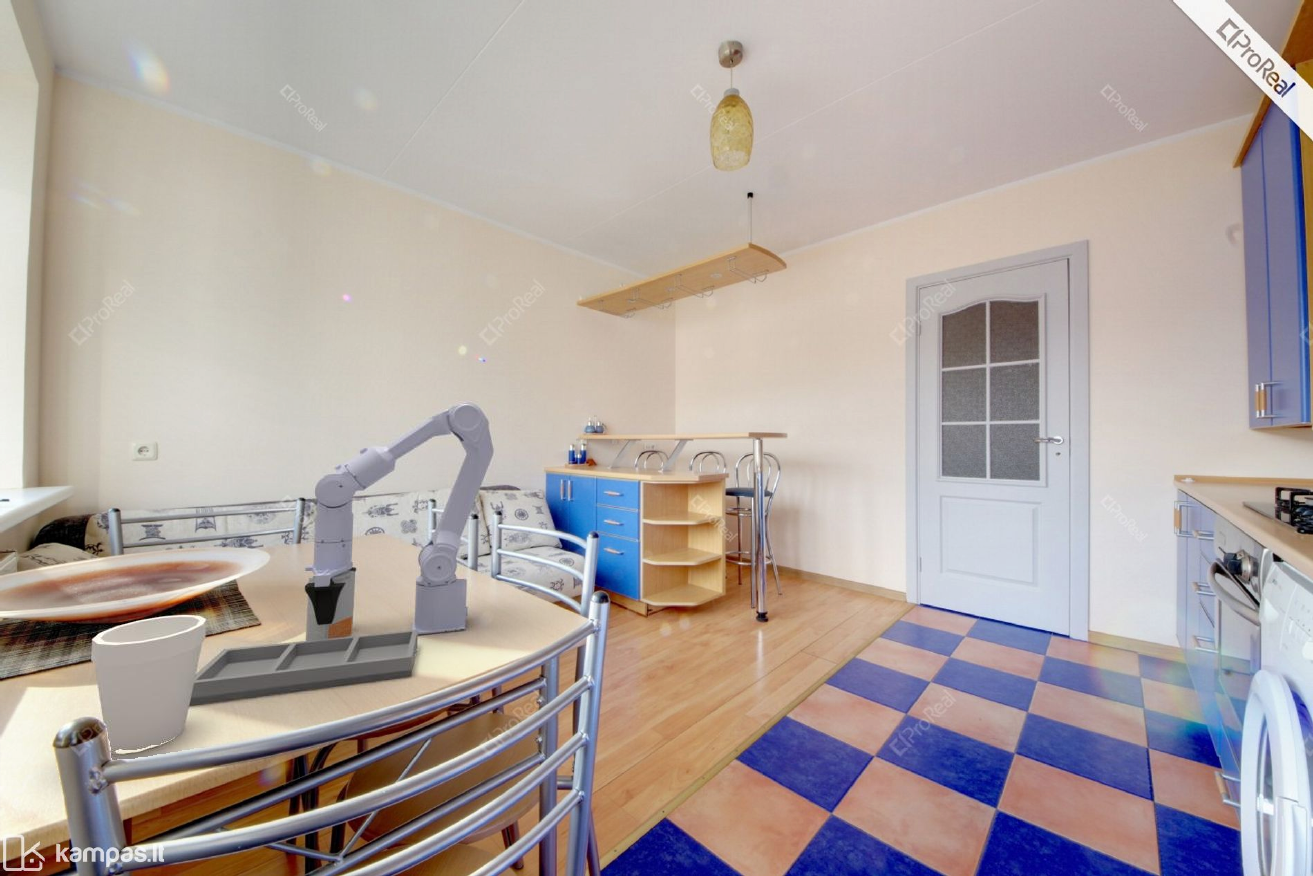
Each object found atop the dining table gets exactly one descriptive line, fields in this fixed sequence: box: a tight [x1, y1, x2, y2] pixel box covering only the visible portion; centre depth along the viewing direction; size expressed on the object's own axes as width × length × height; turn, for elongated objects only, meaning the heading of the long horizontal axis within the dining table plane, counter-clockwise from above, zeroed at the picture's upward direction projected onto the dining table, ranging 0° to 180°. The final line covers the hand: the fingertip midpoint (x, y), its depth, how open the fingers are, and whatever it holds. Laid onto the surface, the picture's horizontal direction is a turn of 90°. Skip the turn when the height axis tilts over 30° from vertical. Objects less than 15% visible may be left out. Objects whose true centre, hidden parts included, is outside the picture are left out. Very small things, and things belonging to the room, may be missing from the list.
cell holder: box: [189, 629, 419, 707], centre depth 76 cm, size 27×12×3 cm, turn 112°
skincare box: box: [305, 571, 356, 641], centre depth 88 cm, size 6×4×12 cm
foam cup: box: [90, 614, 207, 756], centre depth 59 cm, size 10×9×13 cm
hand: (330, 616), depth 87 cm, fingers open, 7 cm apart
